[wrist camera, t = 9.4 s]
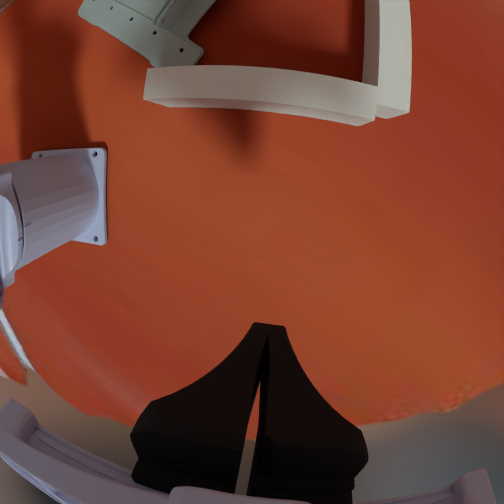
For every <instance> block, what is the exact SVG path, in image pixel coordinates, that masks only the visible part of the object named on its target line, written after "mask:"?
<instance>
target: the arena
mask: <svg viewBox="0 0 504 504" xmlns="http://www.w3.org/2000/svg"><path fill="white" fill-rule="evenodd" d="M411 61H412V48H411V19H410V5H409V0H365V33H364V58H363V75H362V83H361V82H356V81H352V80H347V79H342V78H337V77H332V76H327V75H321V74H315V73H309V72H302V71H294V70H286V69H277V68H266V67H252V66H230V65H193V66H172V67H158V68H147V75H146V81H145V88H144V96H143V100H147V101H150V102H154V103H157V104H160V105H164V106H167V107H207V108H229V109H244V110H256V111H266V112H275V113H284V114H291V115H299V116H305V117H312V118H318V119H324V120H329V121H335V122H340V123H345V124H350V125H354V126H360V125H363V124H366V123H369V122H372V121H375V116H377V117H381V118H384V119H389V118H392V117H395V116H399V115H402V114H406V113H409V107H410V92H411Z"/></svg>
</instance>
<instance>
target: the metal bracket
mask: <svg viewBox="0 0 504 504" xmlns="http://www.w3.org/2000/svg"><path fill="white" fill-rule="evenodd" d="M215 1H216V0H95V1H94V0H84V1H83V3H82V5H81V7H80V9H79V11H78V16H80V17H82V18H83V19H85V20H86V21H88V22H90V23H91V24H93V25H94V26H95V25H97V26H98V27H100V28H101V29H103V30H105V31H106V32H108V33H109V34H111V35H113V36H114V37H116V38H117V39H119V40H120V41H122V42H123V43H125V44H126V45H128V46H129V47H131V48H132V49H134V50H135V51H137V52H138V53H140V54H141V55H142V56H144V57H145V58H147V59H148V60H149V61H150V64H151V65H152V66H154V67H155V68H158V67H172V66H193V65H196V64H197V62H198V61H199V59H200V58H201V57H202V55H203V54H204V50H203V48H201V47H200V46H198V45H197V44H195V43H194V42H192V41H191V40H190V39H189V38H188V36H189V34H190V32H191V31H192V30H193V28H194V27H195V26H196V24H197V23H198V22H199V20H200V19H201V18H202V17H203V15H204V14H205V13H206V12H207V10H208V9H209V8H210V7H211V6H212V4H213V3H214V2H215ZM112 7H113V9H112V10H111V8H112ZM132 17H133V20H132V21H131V18H132ZM155 31H156V32H157V33H156V34H155V35H154V32H155ZM181 48H183V49H184V51H183V52H180V50H181Z"/></svg>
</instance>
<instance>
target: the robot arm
mask: <svg viewBox="0 0 504 504" xmlns="http://www.w3.org/2000/svg"><path fill="white" fill-rule="evenodd" d="M95 152H97V156H95ZM41 156H42V157H41ZM106 161H107V151H106V149H105V148H78V149H61V150H48V151H38V152H33V154H32V157H31V159H28V160H22V161H16V162H10V163H5V164H0V310H1V308H2V305H3V303H4V288H6V287H8V286H9V285H11V284H12V283H14V281H15V280H14V274H15V271H16V270H17V269H19V268H21V267H23V266H24V265H26V264H28V263H30V262H31V261H33V260H35V259H37V258H38V257H40V256H42V255H44V254H46V253H48V252H49V251H51V250H53V249H55V248H57V247H59V246H61V245H63V244H64V243H66V242H68V241H70V240H74V241H80V242H85V243H91V244H97V245H104V244H105V243H106V242H107V226H106ZM96 236H97V238H98V240H97V239H96ZM259 383H260V401H259V422H258V431H257V437H256V443H255V449H254V455H253V461H252V466H251V472H250V477H249V483H248V488H247V493H246V496H244V495H238V494H234V493H235V488H236V483H237V478H238V473H239V468H240V462H241V458H242V453H243V447H244V442H245V437H246V431H247V426H248V422H249V418H250V415H251V411H252V408H253V404H254V401H255V397H256V394H257V390H258V386H259ZM130 437H131V442H132V444H133V446H134V449H135V451H136V453H137V456H138V461H137V463H136V465H135V467H134V469H133V471H132V470H129V469H127V468H124V467H122V466H119V465H116V464H114V463H112V462H110V461H107V460H105V459H103V458H101V457H98V456H96V455H94V454H92V453H90V452H88V451H86V450H84V449H82V448H80V447H78V446H76V445H74V444H72V443H70V442H68V441H67V440H65V439H63V438H61V437H60V436H58V435H56V434H54V433H53V432H51V431H49V430H48V429H46V428H45V427H43V426H41V425H40V424H38V421H37V419H36V418H35V416H34V415H33V414H32V413H31V411H29V410H28V409H27V408H26V407H24V406H22V405H21V404H20V403H18V402H17V401H16V400H14V399H13V398H10V399H9V400H8V402H7V403H6V404H5V405H4V406H3V407H2V408H1V410H0V456H1V457H2V459H3V460H4V461H5V462H6V463H7V464H8V465H9V466H10V467H12V468H13V469H14V470H15V471H17V472H18V473H19V474H20V475H22V476H23V477H24V478H25V479H27V480H28V481H29V482H31V483H32V484H34V485H35V486H36V487H38V488H39V489H40V490H42V491H43V492H45V493H46V494H47V495H49V496H51V497H52V498H54V499H55V500H56V501H58V502H60V503H61V504H496V500H495V497H494V493H493V490H492V487H491V484H490V481H489V478H488V475H487V472H486V469H485V468H481V469H479V470H476V471H473V472H470V473H467V474H465V475H463V476H461V477H460V478H458V479H457V480H456V481H455V482H453V484H452V485H449V486H446V487H442V488H439V489H435V490H431V491H427V492H423V493H418V494H414V495H408V496H404V497H397V498H391V499H385V500H377V501H369V502H360V503H359V502H358V503H352V490H353V489H354V487H355V484H354V478H355V477H356V475H357V474H358V473H359V472H360V471H361V470H362V469H363V468H364V467H365V465H366V464H367V462H368V451H367V446H366V443H365V440H364V437H363V434H362V431H361V430H360V429H358V428H357V427H356V426H354V425H353V424H351V423H350V422H349V421H347V420H346V419H345V418H343V417H342V416H341V415H340V414H339V413H338V412H337V411H336V410H334V409H333V408H332V407H331V406H330V405H329V403H328V402H327V401H326V400H325V399H324V398H323V397H322V396H321V395H320V394H319V392H318V391H317V390H316V388H315V387H314V386H313V384H312V383H311V382H310V380H309V379H308V377H307V376H306V374H305V372H304V371H303V369H302V367H301V365H300V363H299V362H298V360H297V357H296V355H295V353H294V351H293V349H292V346H291V344H290V341H289V338H288V335H287V332H286V328H285V327H284V326H279V325H272V324H265V323H258V322H255V323H253V324H252V326H251V328H250V329H249V331H248V333H247V334H246V335H245V337H244V338H243V340H242V341H241V342H240V343H239V344H238V346H237V347H236V348H235V349H234V350H233V351H232V352H231V353H230V354H229V355H228V356H227V357H226V358H225V359H224V360H223V361H222V362H221V363H220V364H219V365H218V366H216V367H215V368H214V369H213V370H211V371H210V372H209V373H207V374H206V375H205V376H203V377H202V378H200V379H199V380H197V381H195V382H194V383H192V384H190V385H188V386H186V387H185V388H183V389H181V390H179V391H177V392H175V393H172V394H170V395H167V396H165V397H162V398H160V399H157V400H154V401H151V402H150V403H149V405H148V406H147V407H146V408H145V410H144V411H143V412H142V414H141V415H140V416H139V418H138V420H137V422H136V424H135V426H134V428H133V430H132V432H131V434H130Z"/></svg>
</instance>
